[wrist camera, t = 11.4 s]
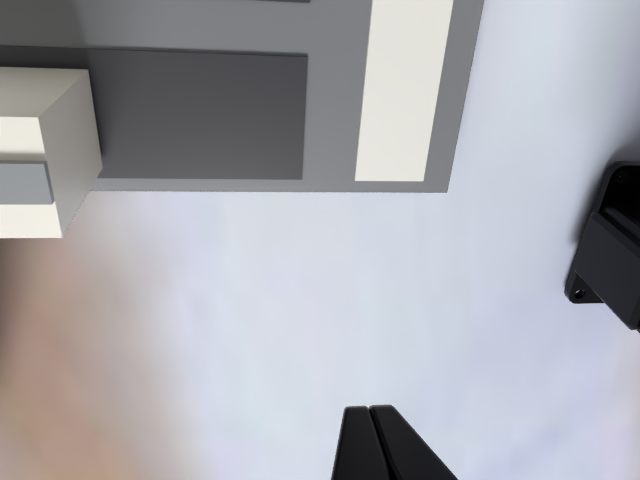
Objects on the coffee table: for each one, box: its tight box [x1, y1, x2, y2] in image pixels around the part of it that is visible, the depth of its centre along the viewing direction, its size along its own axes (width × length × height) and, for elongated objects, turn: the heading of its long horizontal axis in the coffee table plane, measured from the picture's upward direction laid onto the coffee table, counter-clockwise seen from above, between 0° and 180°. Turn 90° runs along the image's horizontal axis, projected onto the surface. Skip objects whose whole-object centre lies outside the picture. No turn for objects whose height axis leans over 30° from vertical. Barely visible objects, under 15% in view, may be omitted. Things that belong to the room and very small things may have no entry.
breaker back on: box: [0, 67, 103, 238], centre depth 14 cm, size 3×3×5 cm
